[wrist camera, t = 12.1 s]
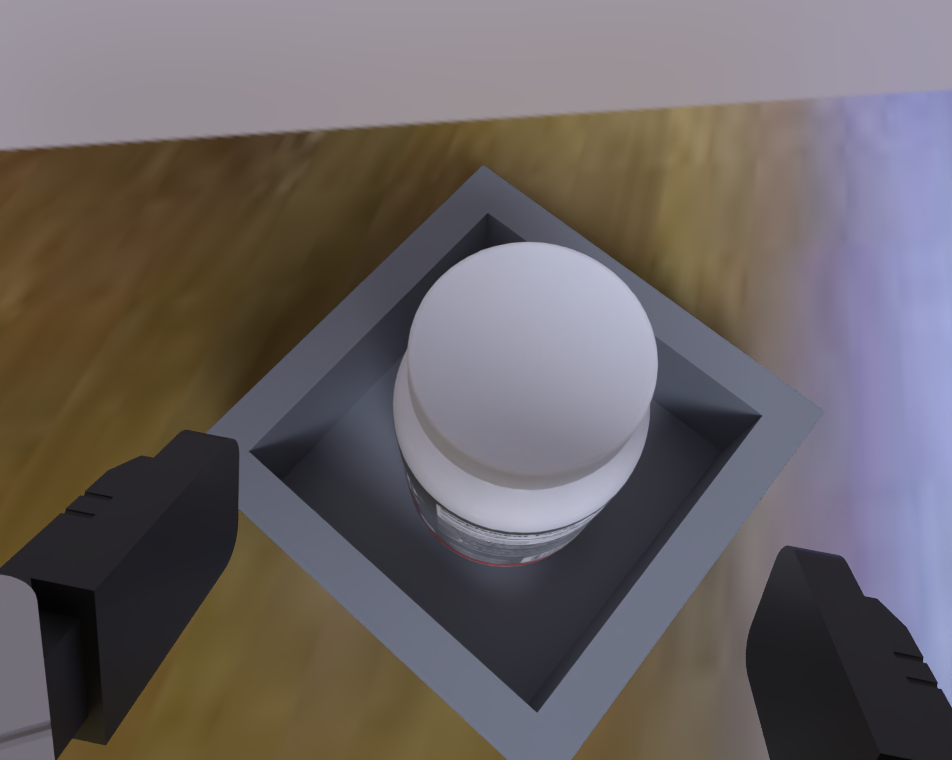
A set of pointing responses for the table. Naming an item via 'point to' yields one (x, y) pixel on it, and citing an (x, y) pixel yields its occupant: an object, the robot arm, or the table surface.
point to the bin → (518, 587)
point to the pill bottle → (522, 400)
